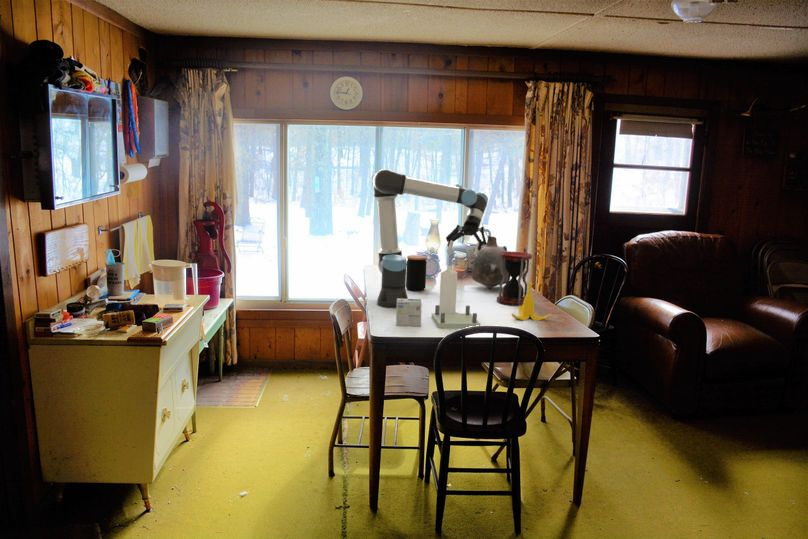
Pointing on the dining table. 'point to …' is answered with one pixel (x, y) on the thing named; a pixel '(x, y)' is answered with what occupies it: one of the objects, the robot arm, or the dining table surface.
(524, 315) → the banana peel
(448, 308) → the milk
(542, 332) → the dining table surface
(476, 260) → the jug
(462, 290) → the dining table surface
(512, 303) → the hourglass
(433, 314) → the peg board
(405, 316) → the light bulb box
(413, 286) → the coffee jar
